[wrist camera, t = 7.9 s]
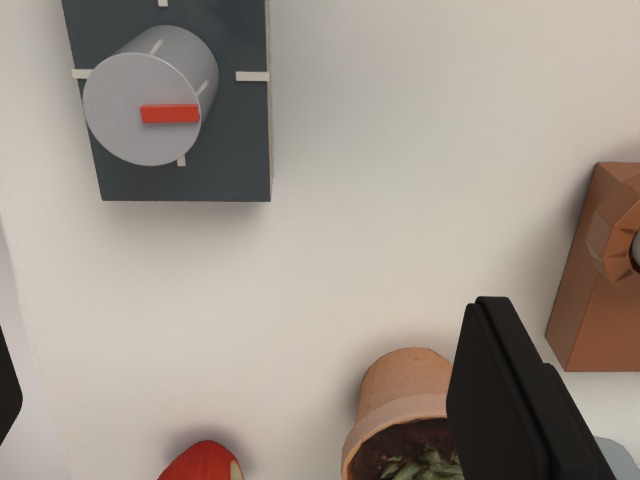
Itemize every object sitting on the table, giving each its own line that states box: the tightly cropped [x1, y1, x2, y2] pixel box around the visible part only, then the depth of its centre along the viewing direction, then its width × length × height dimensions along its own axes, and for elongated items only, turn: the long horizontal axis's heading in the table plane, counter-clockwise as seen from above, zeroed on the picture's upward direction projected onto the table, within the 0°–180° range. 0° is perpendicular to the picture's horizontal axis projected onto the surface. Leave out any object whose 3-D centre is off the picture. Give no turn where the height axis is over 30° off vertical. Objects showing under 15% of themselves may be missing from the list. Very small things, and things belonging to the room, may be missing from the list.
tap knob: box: [82, 25, 219, 166], centre depth 21 cm, size 4×4×5 cm
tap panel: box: [62, 0, 273, 202], centre depth 25 cm, size 12×8×3 cm
